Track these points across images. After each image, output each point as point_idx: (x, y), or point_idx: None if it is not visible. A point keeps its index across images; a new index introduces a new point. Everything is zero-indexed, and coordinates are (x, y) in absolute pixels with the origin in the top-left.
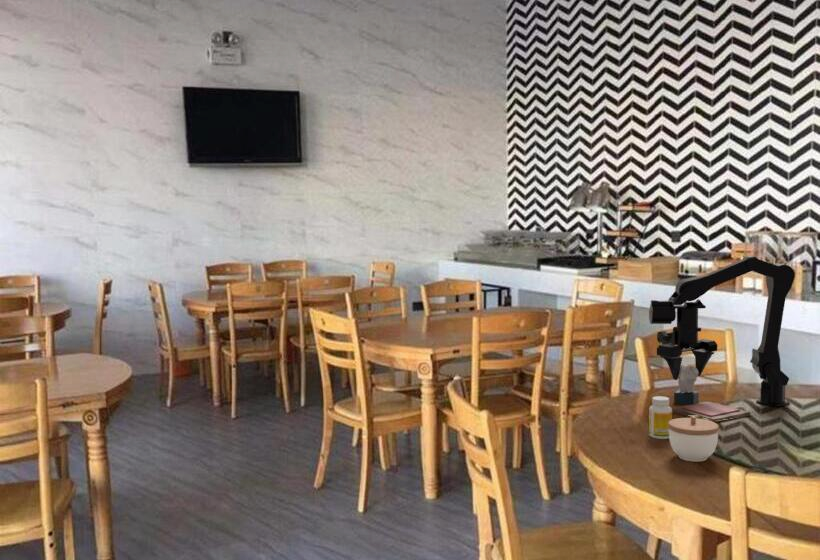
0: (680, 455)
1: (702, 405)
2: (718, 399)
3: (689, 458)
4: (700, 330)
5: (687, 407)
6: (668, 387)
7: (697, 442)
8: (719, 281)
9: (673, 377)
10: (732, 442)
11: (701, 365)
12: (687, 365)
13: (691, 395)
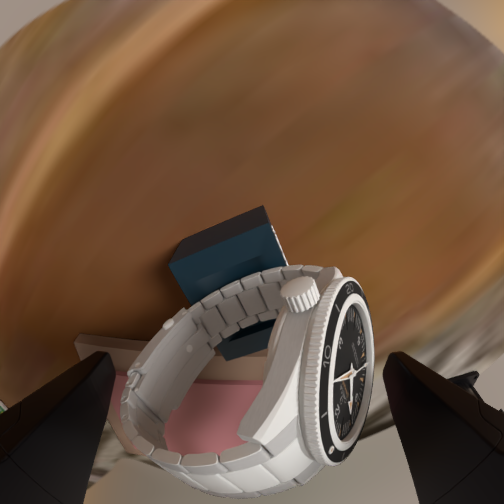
0: None
1: (194, 398)
2: (413, 302)
3: None
4: None
5: (118, 383)
6: (429, 6)
7: None
8: None
9: (87, 364)
10: (95, 476)
11: (414, 453)
12: (235, 489)
13: (221, 348)
